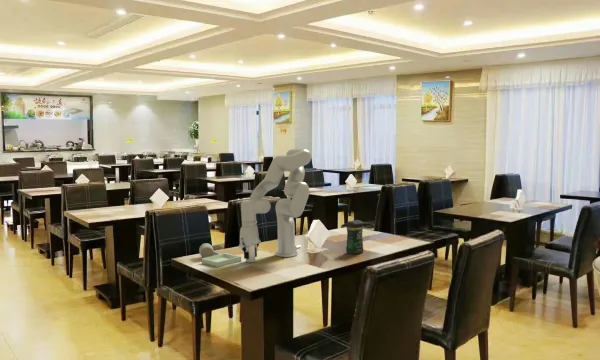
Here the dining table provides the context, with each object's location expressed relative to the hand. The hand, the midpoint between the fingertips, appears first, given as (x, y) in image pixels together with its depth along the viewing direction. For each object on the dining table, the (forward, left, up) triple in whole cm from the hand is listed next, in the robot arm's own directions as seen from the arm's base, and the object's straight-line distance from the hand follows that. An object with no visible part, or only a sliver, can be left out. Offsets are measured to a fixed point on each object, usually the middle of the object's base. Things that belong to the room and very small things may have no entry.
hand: (250, 257), depth 258 cm
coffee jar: (-51, +31, -3) cm, 60 cm away
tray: (+11, -11, -2) cm, 16 cm away
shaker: (0, 0, -2) cm, 2 cm away
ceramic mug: (+9, -25, -3) cm, 26 cm away
